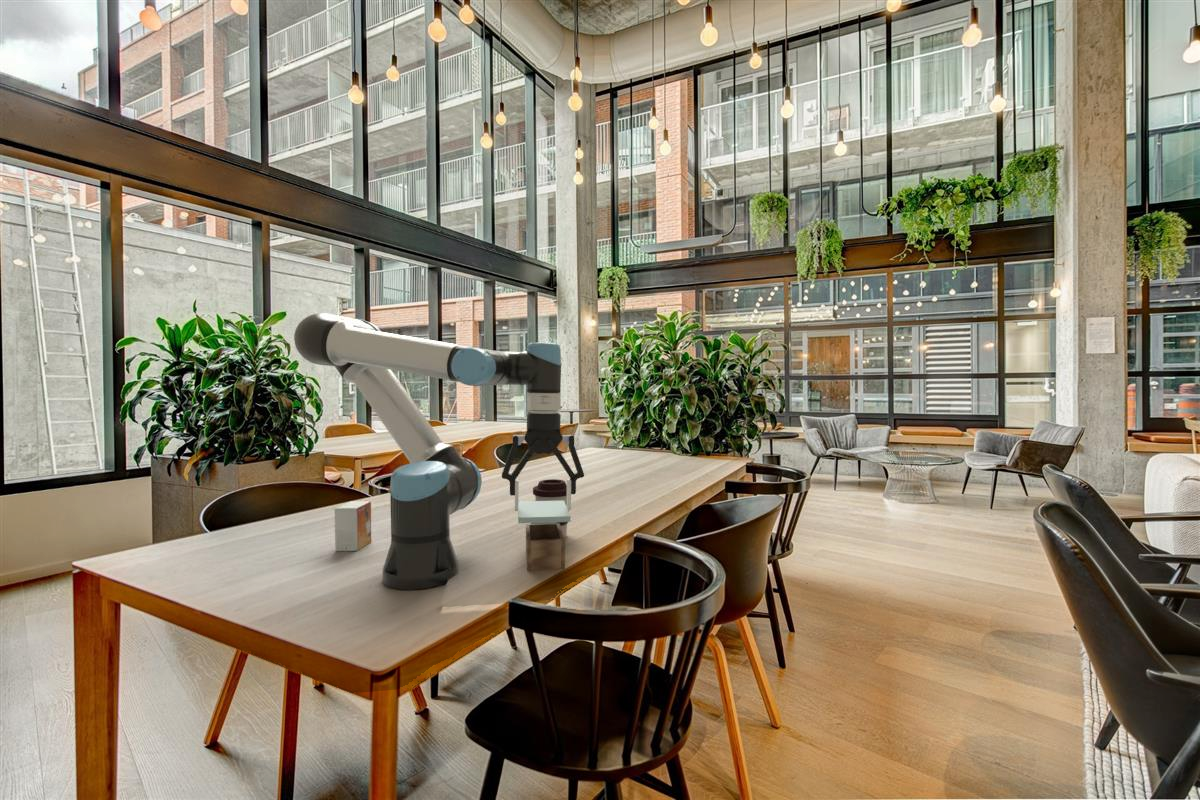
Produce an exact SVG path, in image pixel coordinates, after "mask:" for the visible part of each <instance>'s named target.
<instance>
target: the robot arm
mask: <svg viewBox="0 0 1200 800" xmlns="http://www.w3.org/2000/svg"><path fill="white" fill-rule="evenodd" d="M293 339H294V341H293V342H294V346H295V349H296V350H297V352H298V353H299V354H300V355H301V357H302V358H303V359H305V360H306V361H308V362H310V363H312V364H315V365H319V366H329V367H335V369H336V370H337V372H338V373H339V375H340V376H341V377H342V379H343V381H344V382H346V383H352V384H355V385H356V388H357V389H358V390H359V391H360V393H361V394H362V396H363V397H364V399H365V400H366V401H367V403H368V404H369V406H370V407H371V409H372V410H373V412H374V413H375V414H376V416H377V418H378V419H379V420H380V422H381V423H382V424H383V426H384V428H385V429H386V430H387V432H388V433H389V434H390V436H391V437H392V439H393V440H394V441H395V443H396V444H397V446H398V447H399V449H400V450H401V451H402V453H403V454H404V456H405V457H406V459H407V460H408V461H409V463H407V464H404V465H401V466H398V467H397V468H395V469H394V470H393V472H392V473H391V477H390V485H389V497H390V498H389V499H390V534H391V535H390V536H391V537H390V546H389V549H388V551H387V552H388V553H387V555H386V558H385V561H384V564H383V567H382V573H381V574H382V584H384V585H385V586H387V587H388V588H392V589H396V590H405V591H407V590H410V591H411V590H422V589H423V590H424V589H429V588H433V587H439V586H441V585H444V584H447V583H448V581H449V580H450V579H453V578H454V577H455V576H456V575H457V574H458V572H459V561H458V558H457V555H456V551H455V549H454V546H453V543H452V541H451V540H452V539H451V536H450V535H451V534H450V515H453V514H455V513H456V512H458V511H459V510H463V509H465V508H467V507H468V506H469V505H471V503H473V502H474V501H475V500H476V498H477V497H478V496H479V494H480V491H481V489H482V483H483V482H482V474H481V470H480V469H479V467H478V466H477V464H475V463H474V462H473V461H472V460H470V459H469V458H465V457H462V456H461V455H460V454H459V452H458V451H457V449H456V447H455V446H454V445H452V444H449V443H443V440H442V439H441V438H440V436H439V435H438V434H437V432H436V431H435V430H434V428H433V427H432V425H431V424H430V423H429V421H428V420H427V418H426V417H425V415H424V414H423V413H422V411H421V410H420V408H419V407H418V406H417V404H416V402H415V401H414V400H413V398H412V397H411V396H410V394H409V392H408V391H407V390H406V389H405V387H404V386H403V384H402V383H401V381H400V380H399V378H398V376H397V375H396V374H395V373H394V371H397V372H402V373H408V374H414V375H418V376H423V377H424V376H425V377H430V378H436V379H442V380H447V381H452V382H457V383H461V384H463V385H467V386H470V387H479V386H480V387H481V386H500V385H501V386H515V385H516V386H519V385H520V386H526V388H527V389H526V410H527V411H529V412H528V413H527V414H526V432H525V434H524V435H518V434H513V435H512V446H511V448H510V451H509V453H508V455H507V456H508V457H507V458H506V459H507V460H506V462H505V465H504V467H503V469H502V473H501V478H502V479H504V480H508V482H509V495H510V496H514V512H518V501H519V484H520V483H519V481H520V480H519V479H517V478H518V477H519V475H520V474H521V472H522V470H523V469H524V467H525V466H526V464H527V463H528V462H529V460H530V459H531V457H532V456H533V455H534V454H536V455H541V454H546V455H549V454H550V455H551V454H554V456H555V457H556V458H557V460H558V461H559V463H560V465H561V467H562V468H563V469H564V470H565V472H566V474H567V475H568V476H569V478H567V479H566V485H567V502H566V507H567V509H568V510H569V511H571V510H572V495H576V493H577V480H578V479H581V478H584V477H585V473H584V469H583V467H582V464H581V461H580V458H579V456H578V452H577V449H576V447H575V436H574V435H573V434H568V435H563V434H562V432H561V419H562V418H561V414H560V410H561V408H562V406H561V403H562V400H561V396H562V395H561V386H562V385H561V382H562V381H561V380H562V365H563V363H562V354H561V353H562V351H561V350H562V349H561V347H560V345H559V344H558V343H556V342H540V341H539V342H529V343H528V344H527V347H526V351H501V350H494V349H485V348H481V347H478V346H477V347H476V346H469V345H468V346H467V345H460V344H455V343H449V342H445V341H444V342H443V341H438V340H432V339H426V338H425V339H424V338H420V337H415V336H408V335H403V334H402V335H401V334H396V333H389V332H386V331H385V332H384V331H382V330H381V329H380V328H379V327H378V326H376V325H375V324H373V323H371V321H366V320H365V319H362V318H358V317H347V316H341V315H337V314H336V315H335V314H331V313H313V314H311V315H309V316H306V317H304V318H303V319H302V320H301V321H300V322H299V323H298V324H297V326H296V328H295V330H294V336H293ZM524 441H525V443H526V444H527V445H528V446H529V447H528V449H527V450H526V452H525V453H524V454H523V456H522V458H521V459H520V461H519V462H518V464H517V465H516V467H514V470H513V471H512V472H511V473H509V472H510V470H511V467H512V464H513V461H514V459H515V457H516V454H517V451H518V448H519V446H521V445H522V443H523V442H524ZM562 441H564V444H565V445H566V446H568V450H569V453H570V455H571V457H572V461H573V465H574V467H575V470H576V472H574V471H573V470H572V469H571V466H570V465H569V464H568V462H567V460H566V459H565V458H564V456H563V454H562V452H560V450H559V448H558V447H559V445H560V444H561V442H562Z"/></svg>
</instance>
